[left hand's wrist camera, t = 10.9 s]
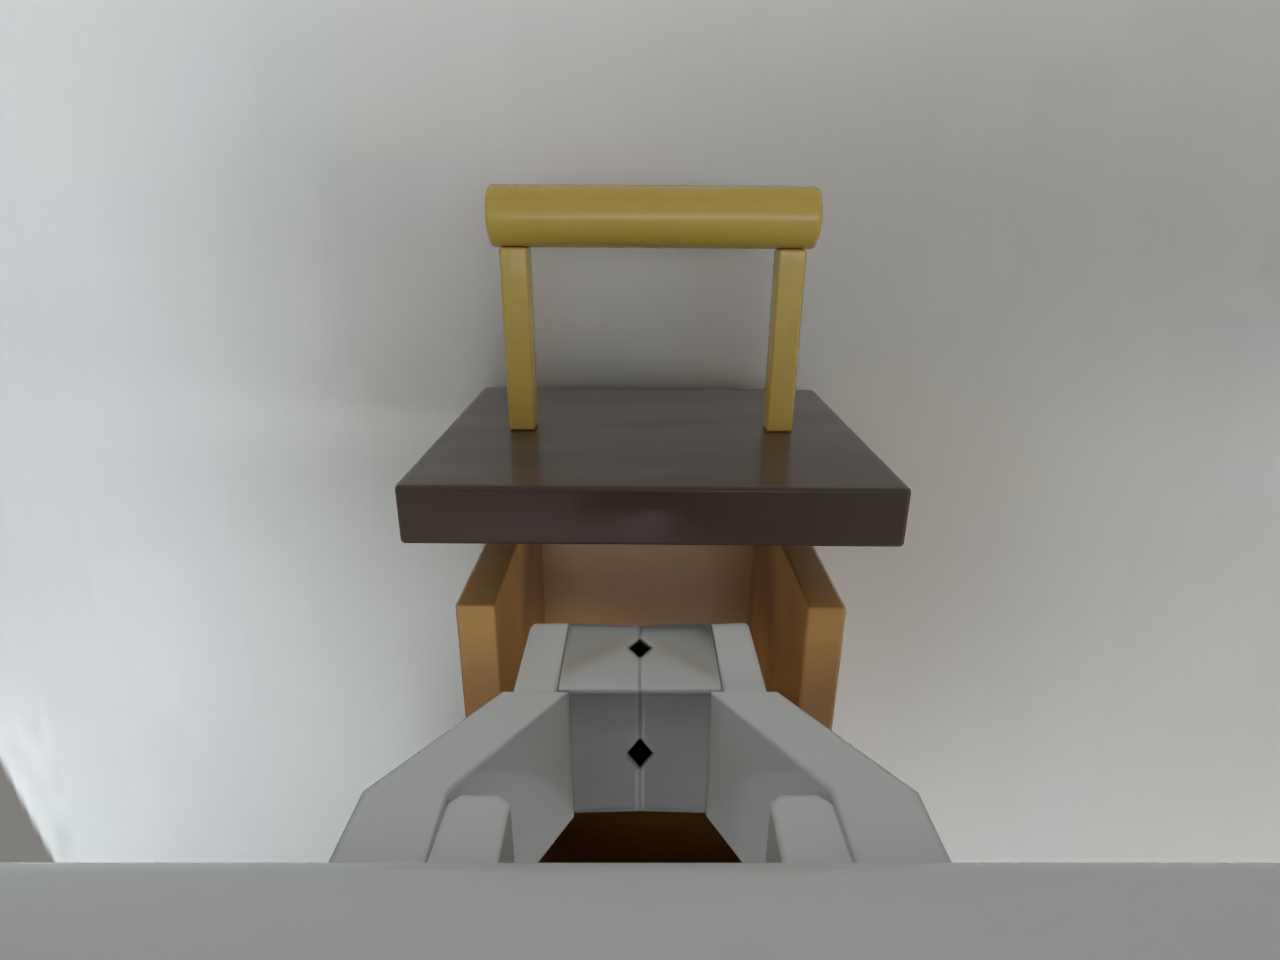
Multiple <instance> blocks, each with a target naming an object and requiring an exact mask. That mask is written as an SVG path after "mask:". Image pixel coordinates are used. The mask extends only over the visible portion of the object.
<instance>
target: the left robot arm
mask: <svg viewBox="0 0 1280 960" xmlns="http://www.w3.org/2000/svg"><path fill="white" fill-rule="evenodd" d="M619 811H660V812H696V813H706V816H707V818H708V819H709V820H710V822H711V823H712V824H713V825H714V827H715V828H716V829H717V831H718V832H719V833H720V834H721V836H722V837H723V838H724V840H725V841H726V842H727V843H728V845H729V846H730V847H731V849H732V850H733V851H734V852H735V854H736V855H737V856H738V858H739V859H740V860H741V861H742V863H538V862H539V861H540V859H541V858H542V857H543V856H544V854H545V853H546V852H547V850H548V849H549V848H550V847H551V845H552V844H553V843H554V842H555V840H556V839H557V838H558V836H559V835H560V834H561V833H562V831H563V830H564V829H565V827H566V826H567V825H568V824H569V822H570V821H571V820H572V819H573V817H574V813H584V812H619ZM0 960H1280V863H952V862H951V860H950V858H949V856H948V854H947V852H946V850H945V848H944V846H943V844H942V842H941V840H940V838H939V835H938V833H937V831H936V829H935V827H934V825H933V823H932V821H931V819H930V817H929V815H928V813H927V811H926V808H925V806H924V804H923V802H922V800H921V798H920V796H919V794H918V793H917V792H916V791H915V790H913V789H912V788H910V787H909V786H908V785H906V784H905V783H903V782H902V781H901V780H899V779H898V778H896V777H895V776H894V775H892V774H891V773H890V772H888V771H887V770H885V769H884V768H883V767H881V766H880V765H878V764H877V763H876V762H874V761H873V760H871V759H870V758H869V757H867V756H866V755H864V754H863V753H862V752H860V751H859V750H857V749H856V748H855V747H853V746H852V745H850V744H849V743H848V742H846V741H845V740H844V739H842V738H841V737H839V736H838V735H837V734H835V733H834V732H832V731H831V730H830V729H828V728H827V727H825V726H824V725H823V724H821V723H820V722H818V721H817V720H816V719H814V718H813V717H811V716H810V715H809V714H807V713H806V712H804V711H803V710H802V709H800V708H799V707H798V706H796V705H795V704H793V703H792V702H791V701H789V700H788V699H786V698H785V697H784V696H782V695H781V694H779V693H778V692H766V688H765V684H764V681H763V677H762V673H761V670H760V666H759V662H758V658H757V655H756V651H755V647H754V644H753V640H752V636H751V633H750V629H749V626H748V625H747V624H746V623H727V624H691V625H651V626H640V625H616V624H570V625H569V624H568V623H541V624H534V625H533V626H532V627H531V628H530V632H529V636H528V639H527V643H526V647H525V651H524V654H523V658H522V662H521V665H520V669H519V673H518V677H517V680H516V684H515V688H514V692H502V693H501V694H499V695H498V696H496V697H495V698H494V699H492V700H491V701H489V702H488V703H487V704H485V705H484V706H482V707H481V708H480V709H478V710H477V711H475V712H474V713H473V714H471V715H470V716H468V717H467V718H466V719H464V720H463V721H461V722H460V723H459V724H457V725H456V726H454V727H453V728H452V729H450V730H449V731H447V732H446V733H445V734H443V735H442V736H440V737H439V738H438V739H436V740H435V741H433V742H432V743H431V744H429V745H428V746H426V747H425V748H424V749H422V750H421V751H419V752H418V753H417V754H415V755H414V756H412V757H411V758H410V759H408V760H407V761H405V762H404V763H403V764H401V765H400V766H398V767H397V768H396V769H394V770H393V771H391V772H390V773H389V774H387V775H386V776H384V777H383V778H382V779H380V780H379V781H377V782H376V783H375V784H373V785H372V786H370V787H369V788H368V789H366V790H365V791H363V793H362V795H361V797H360V799H359V801H358V803H357V805H356V807H355V809H354V811H353V813H352V815H351V817H350V819H349V821H348V823H347V826H346V828H345V830H344V832H343V834H342V836H341V838H340V840H339V842H338V844H337V846H336V848H335V850H334V852H333V854H332V856H331V858H330V860H329V862H328V863H0Z"/></svg>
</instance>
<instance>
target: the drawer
mask: <svg viewBox="0 0 1280 960" xmlns="http://www.w3.org/2000/svg"><path fill="white" fill-rule="evenodd" d="M485 218H486V227H487V233H488V237H489V240H490V242H491V244H492V245H493V246H495V247H501V248H500V267H501V285H502V302H503V320H504V338H505V355H506V373H507V388H485V389H484V390H483V391H482V392H481V393H480V394H479V395H478V397H477V398H476V399H475V400H474V401H473V402H472V403H471V404H470V405H469V406H468V407H467V409H466V410H465V411H464V412H463V413H462V414H461V415H460V416H459V417H458V418H457V419H456V421H455V422H454V423H453V424H452V425H451V426H450V427H449V428H448V429H447V430H446V431H445V433H444V434H443V435H442V436H441V437H440V438H439V439H438V440H437V441H436V442H435V443H434V445H433V446H432V447H431V448H430V449H429V450H428V451H427V452H426V453H425V454H424V455H423V457H422V458H421V459H420V460H419V461H418V462H417V463H416V464H415V465H414V466H413V467H412V469H411V470H410V471H409V472H408V473H407V474H406V475H405V476H404V477H403V478H402V479H401V481H400V482H399V483H398V484H397V485H396V487H395V493H396V502H397V510H398V519H399V527H400V536H401V540H402V542H404V543H486V544H485V546H484V548H483V550H482V552H481V554H480V556H479V558H478V560H477V562H476V564H475V567H474V569H473V571H472V573H471V575H470V577H469V579H468V581H467V583H466V585H465V587H464V590H463V592H462V594H461V596H460V598H459V600H458V602H457V604H456V616H457V627H458V638H459V649H460V660H461V671H462V682H463V693H464V704H465V715H466V718H467V717H468V716H470V715H471V714H473V713H474V712H475V711H477V710H478V709H480V708H481V707H482V706H484V705H485V704H487V703H488V702H489V701H491V700H492V699H494V698H495V697H496V696H498V695H499V694H501V693H502V692H514V688H515V684H516V680H517V677H518V673H519V669H520V665H521V662H522V658H523V654H524V651H525V647H526V643H527V639H528V636H529V632H530V628H531V627H532V626H533V625H534V624H541V623H568V624H569V625H570V624H616V625H640V626H651V625H691V624H727V623H746V624H747V625H748V626H749V629H750V633H751V636H752V640H753V644H754V647H755V651H756V655H757V658H758V662H759V666H760V670H761V673H762V677H763V681H764V684H765V688H766V692H778V693H779V694H781V695H782V696H784V697H785V698H786V699H788V700H789V701H791V702H792V703H793V704H795V705H796V706H798V707H799V708H800V709H802V710H803V711H804V712H806V713H807V714H809V715H810V716H811V717H813V718H814V719H816V720H817V721H818V722H820V723H821V724H823V725H824V726H825V727H827V728H828V729H830V730H831V731H832V723H833V714H834V706H835V698H836V689H837V681H838V673H839V664H840V656H841V647H842V639H843V631H844V622H845V614H846V608H845V606H844V604H843V602H842V600H841V598H840V596H839V594H838V593H837V591H836V589H835V587H834V585H833V583H832V581H831V579H830V577H829V575H828V573H827V572H826V570H825V568H824V566H823V564H822V562H821V560H820V558H819V556H818V554H817V552H816V551H815V549H814V547H813V546H902V545H903V543H904V537H905V530H906V523H907V516H908V510H909V503H910V496H911V491H910V489H909V488H908V487H907V486H906V485H905V484H904V483H903V482H902V481H901V480H900V479H899V478H898V477H897V476H896V475H895V474H894V473H893V472H892V470H891V469H890V468H889V467H888V466H887V465H886V464H885V463H884V462H883V461H882V460H881V459H880V458H879V457H878V456H877V455H876V454H875V453H874V452H873V451H872V450H871V449H870V448H869V447H868V446H867V445H866V444H865V443H864V442H863V441H862V440H861V439H860V438H859V437H858V436H857V435H856V434H855V433H854V432H853V431H852V430H851V429H850V428H849V427H848V426H847V425H846V424H845V423H844V422H843V421H842V420H841V419H840V418H839V417H838V416H837V415H836V414H835V413H834V412H833V411H832V410H831V409H830V408H829V407H828V406H827V405H826V404H825V403H824V402H823V401H822V400H821V399H820V398H819V397H818V396H817V395H816V394H815V393H814V392H813V391H811V390H795V384H796V372H797V360H798V348H799V336H800V323H801V311H802V299H803V287H804V275H805V263H806V250H804V249H811V248H813V247H815V245H816V243H817V240H818V238H819V234H820V229H821V222H822V197H821V192H820V190H819V188H817V187H784V186H656V185H527V184H492V185H489V186H488V188H487V192H486V197H485ZM530 247H604V248H734V249H775V252H774V267H773V282H772V297H771V311H770V326H769V341H768V356H767V370H766V385H765V390H707V389H574V388H537V386H536V363H535V339H534V315H533V292H532V268H531V249H530ZM538 863H742V861H741V860H740V859H739V858H738V856H737V855H736V854H735V852H734V851H733V850H732V849H731V847H730V846H729V845H728V843H727V842H726V841H725V840H724V838H723V837H722V836H721V834H720V833H719V832H718V831H717V829H716V828H715V827H714V825H713V824H712V823H711V822H710V820H709V819H708V818H707V816H706V813H696V812H660V811H619V812H584V813H574V817H573V819H572V820H571V821H570V822H569V824H568V825H567V826H566V827H565V829H564V830H563V831H562V833H561V834H560V835H559V836H558V838H557V839H556V840H555V842H554V843H553V844H552V845H551V847H550V848H549V849H548V850H547V852H546V853H545V854H544V856H543V857H542V858H541V859H540V861H539V862H538Z"/></svg>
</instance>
